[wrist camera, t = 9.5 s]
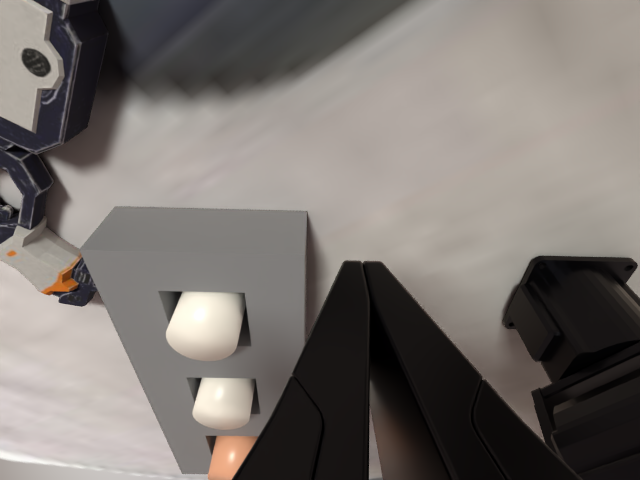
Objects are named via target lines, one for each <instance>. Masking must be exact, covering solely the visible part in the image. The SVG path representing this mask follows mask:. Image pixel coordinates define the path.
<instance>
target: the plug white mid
mask: <svg viewBox="0 0 640 480" xmlns="http://www.w3.org/2000/svg"><path fill="white" fill-rule="evenodd" d="M255 380H256V379H252V378H202V380H201V383H200V387H199V390H198V394H197V397H196V401H195V404H194V408H193V412H192V414H193V417H194V418H195V420H196V421H198V422H199V423H200V424H202V425H204V426H207V427H210V428H214V429H220V430H231V429H237V428H240V427H242V426H244V425H246V424H247V423H248V422H249V419H250V413H251V406H252V400H253V393H254V387H255Z"/></svg>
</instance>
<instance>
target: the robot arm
mask: <svg viewBox="0 0 640 480" xmlns="http://www.w3.org/2000/svg"><path fill="white" fill-rule="evenodd" d="M541 263H542V264H541ZM539 264H540V265H539ZM637 266H638V265H637V263H636V262H635V261H634V260H633V259H632V258H615V257H571V256H538V257H536V258H534V259H533V260H532V262H531V264H530V266H529V268H528V270H527V272H526V274H525V276H524V278H523V280H522V282H521V284H520V286H519V288H518V290H517V292H516V294H515V296H514V298H513V300H512V302H511V304H510V306H509V308H508V311H507V313H506V315H505V317H504V319H503V323H504V325H505V327H506V328H508V329H517V331H518V333H519V335H520V337H521V338H522V340H523V342H524V344H525V346H526V348H527V350H528V352H529V353H530V355H531V357H532V359H533V360H534V361H535V362H541V364H542V366H543V368H544V370H545V371H546V373H547V375H548V377H549V379H550V381H551V382H552V384H550V385H548V386H546V387H544V388H542V389H541V388H538V389H536V390H533V391H532V392H531V393H532V397H533V400H534V403H535V405H534V407H535V410H536V413H537V417H538V420H539V423H540V426H541V430H542V433H543V436H544V440H545V443H546V444H545V443H544V442H543V441H542V440H541V439H540V438H539V437H538V436H537V435H536V434H535V433H534V432H533V431H532V430H531V429H530V428H529V427H528V426H527V425H526V424H525V423H524V422H523V421H522V419H521V418H520V417H519V416H518V415H517V414H516V413H515V412H514V411H513V410H512V409H511V408H510V406H509V405H508V404H507V403H506V402H505V401H504V400H503V399H502V398H501V397H500V396H499V394H498V393H497V392H496V391H495V390H494V389H493V388H492V386H491V385H490V384H489V383H488V382H487V381H486V380H485V379H483V380H482V375H481V374H480V373H479V372H478V371H477V370H476V368H475V367H474V366H473V365H472V364H471V363H470V362H469V361H468V359H467V358H466V357H465V356H464V355H463V354H462V353H461V351H460V350H459V349H458V348H457V347H456V346H455V345H454V343H453V342H452V341H451V340H450V339H449V338H448V337H447V335H446V334H445V333H444V332H443V331H442V330H441V329H440V327H439V326H438V325H437V324H436V323H435V322H434V321H433V320H432V318H431V317H430V316H429V315H428V314H427V313H426V312H425V310H424V309H423V308H422V307H421V306H420V305H419V304H418V302H417V301H416V300H415V299H414V298H413V297H412V296H411V294H410V293H409V292H408V291H407V290H406V289H405V288H404V287H403V285H402V284H401V283H400V282H399V281H398V280H397V279H396V277H395V276H394V275H393V274H392V273H391V272H390V271H389V269H388V268H387V267H386V266H385V265H384V264H383V263H382V262H380V261H364V262H363V263H362V262H361V261H348V260H346V261H344V262H343V263H342V266H341V268H340V270H339V272H338V274H337V276H336V278H335V281H334V283H333V285H332V287H331V289H330V291H329V294H328V296H327V298H326V300H325V302H324V304H323V306H322V309H321V311H320V313H319V315H318V317H317V319H316V321H315V324H314V326H313V328H312V330H311V332H310V334H309V337H308V339H307V341H306V343H305V345H304V347H303V349H302V352H301V354H300V356H299V358H298V360H297V362H296V364H295V367H294V369H293V371H292V373H291V376H290V377H289V379H288V381H287V383H286V385H285V388H284V390H283V392H282V394H281V396H280V398H279V400H278V402H277V404H276V406H275V408H274V410H273V412H272V414H271V416H270V417H269V419H268V421H267V423H266V424H265V426H264V428H263V430H262V431H261V433H260V435H259V436H258V438H257V440H256V441H255V443H254V445H253V446H252V448H251V450H250V451H249V453H248V454H247V456H246V458H245V459H244V461H243V462H242V464H241V465H240V467H239V469H238V470H237V472H236V473H235V475H234V476H233V478H232V480H369V407H370V408H371V414H372V419H373V425H374V431H375V436H376V442H377V447H378V453H379V459H380V464H381V470H382V476H383V480H640V298H639V297H638V296H637V295H636V294H635V293H634V292H633V291H632V290H631V289H630V287H629V286H628V285H627V284H626V282H627V281H628V279H629V278H630V277H631V275H632V274H633V273H634V271H635V270H636V268H637Z"/></svg>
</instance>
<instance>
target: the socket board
mask: <svg viewBox="0 0 640 480" xmlns="http://www.w3.org/2000/svg"><path fill="white" fill-rule="evenodd" d="M79 251H80V253H81V255H82V257H83V259H84V262H85V264H86V266H87V268H88V270H89V272H90V275H91V277H92V279H93V281H94V283H95V285H96V288H97V290H98V292H99V294H100V296H101V298H102V301H103V303H104V305H105V307H106V309H107V311H108V314H109V316H110V318H111V320H112V322H113V324H114V327H115V329H116V331H117V333H118V335H119V338H120V340H121V342H122V344H123V346H124V348H125V351H126V353H127V355H128V357H129V359H130V361H131V364H132V366H133V368H134V370H135V372H136V374H137V377H138V379H139V381H140V383H141V385H142V387H143V390H144V392H145V394H146V396H147V398H148V400H149V403H150V405H151V407H152V409H153V411H154V413H155V416H156V418H157V420H158V422H159V424H160V426H161V429H162V431H163V433H164V435H165V437H166V439H167V442H168V444H169V446H170V448H171V450H172V452H173V455H174V457H175V459H176V461H177V463H178V466H179V468H180V470H181V472H182V474H208V473H209V468H210V464H211V459H212V454H213V450H214V445H215V441H216V436H259V435H260V433H261V431H262V430H263V428H264V426H265V424H266V423H267V421H268V419H269V417H270V416H271V414H272V412H273V410H274V408H275V406H276V404H277V402H278V400H279V398H280V396H281V394H282V392H283V390H284V388H285V385H286V383H287V381H288V379H289V377H290V376H291V373H292V371H293V369H294V367H295V364H296V362H297V360H298V358H299V356H300V354H301V352H302V349H303V347H304V345H305V343H306V261H307V211H277V210H237V209H196V208H155V207H114V209H113V210H112V211H111V212H110V213H109V215H108V216H107V217H106V218H105V219H104V221H103V222H102V223H101V224H100V225H99V227H98V228H97V229H96V230H95V231H94V233H93V234H92V235H91V236H90V238H89V239H88V240H87V241H86V242H85V244H84V245H83V246H82V247H81V248H80V250H79ZM183 291H184V292H233V293H245V299H246V306H245V311H244V316H243V320H242V325H241V330H240V334H239V339H238V344H237V347H236V350H235V351H234V352H233V353H232V354H231V355H230V356H228V357H226V358H224V359H221V360H216V361H200V360H195V359H191V358H188V357H186V356H183V355H181V354H180V353H178V352H177V351H175V350H174V349H173V348H172V347H171V346H170V345H169V343H168V341H167V339H166V331H167V328H168V326H169V323H170V321H171V318H172V316H173V314H174V311H175V309H176V306H177V304H178V302H179V299H180V297H181V294H182V292H183ZM202 378H252V379H256V380H255V387H254V393H253V400H252V406H251V413H250V419H249V422H248V423H247V424H246V425H244V426H242V427H240V428H237V429H231V430H220V429H214V428H210V427H207V426H204V425H202V424H200V423H199V422H198V421H196V420H195V418H194V417H193V414H192V412H193V408H194V404H195V401H196V397H197V394H198V390H199V387H200V383H201V380H202Z"/></svg>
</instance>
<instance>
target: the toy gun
mask: <svg viewBox="0 0 640 480" xmlns="http://www.w3.org/2000/svg"><path fill="white" fill-rule="evenodd" d="M98 5H99V0H0V168H2V169H4V170H6V171H7V172H8V174H9V175H10V177H11V178H12V180H13V181H14V183H15V184H16V186H17V187H18V189H19V190H20V192H21V193H22V201H21V207H20V213H13V208H12V207H11V206H9V205H6V206H3V205H1V204H0V260H1V261H3V262H4V263H6V264H8V265H10V266H12V267H13V268H15V269H17V270H18V271H19V272H20V273H21V274H22V275H23V276H25V277H26V278H27V279H28V280H29V281H30V282H31V283H32V284H33V285H34V286H35V287H36V289H37V290H38V291H39V292H41V293H44V294H46V295H51V294H53V295H55V296H58V297H59V301H58V302H59V303H63V304H69V305H75V306H81V307H82V306H85V305H86V304H87V303H88V302H89V301H90V300H91V299H92V298H93V296H94V294H95V292H96V291H98V290H97V288H96V285H95V283H94V281H93V279H92V277H91V275H90V272H89V270H88V268H87V266H86V264H85V262H84V259H83V257H82V255H81V253H80V251H79V249H78V248H76V247H75V246H73V245H71V244H70V243H68V242H67V241H65V240H63V239H62V238H60V237H59V236H58V235H56V234H55V233H54V232H52V231H51V230H50V229H48V228H47V227H46V223H47V217H44V210H45V204H46V198H47V192H48V189H49V188H50V187H51V185H52V184H53V182H54V181H53V179H52V177H51V176H50V174H49V172H48V171H47V169H46V167H45V165H44V164H43V162H42V160H41V159H40V157H39V155H38V154H39V153H42V152H44V151H47V150H50V149H52V148H55V147H57V146H60V145H63V144H64V143H66V142H67V141H68V140H70V139H71V138H73V137H74V136H75V135H77V134H78V133H80V132H81V131H82V130H84V129H85V128H87V126H88V122H89V117H90V113H91V109H92V104H93V100H94V96H95V92H96V87H97V83H98V79H99V74H100V70H101V65H102V61H103V56H104V52H105V47H106V43H107V38H108V33H109V32H108V30H107V28H106V27H105V25H104V23H103V21H102V19H101V17H100V15H99V13H98V11H97V10H98Z"/></svg>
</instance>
